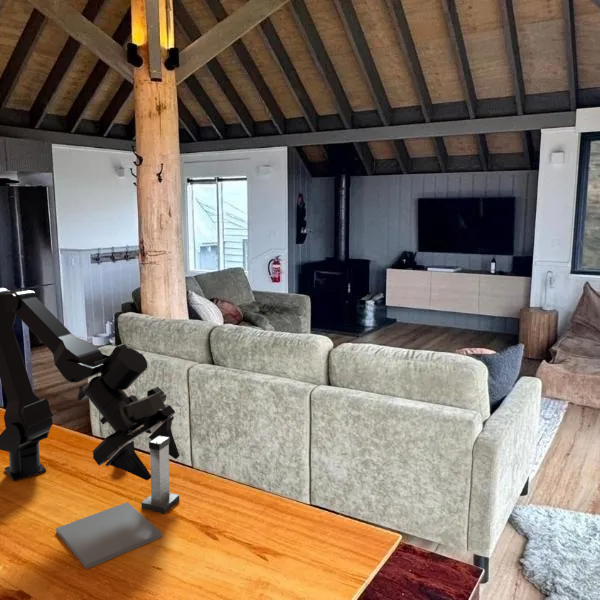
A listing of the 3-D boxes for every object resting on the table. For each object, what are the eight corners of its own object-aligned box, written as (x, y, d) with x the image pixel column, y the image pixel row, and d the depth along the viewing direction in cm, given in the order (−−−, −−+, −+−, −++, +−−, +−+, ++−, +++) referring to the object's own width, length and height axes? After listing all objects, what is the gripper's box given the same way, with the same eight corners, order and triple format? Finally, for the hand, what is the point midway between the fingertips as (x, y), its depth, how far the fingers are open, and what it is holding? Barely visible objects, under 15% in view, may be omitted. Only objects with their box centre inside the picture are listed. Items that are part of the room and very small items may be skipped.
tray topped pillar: (141, 508, 103) (139, 442, 101) (157, 495, 108) (155, 432, 105) (164, 513, 101) (163, 447, 99) (179, 500, 106) (178, 436, 104)
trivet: (56, 532, 95) (56, 528, 95) (127, 506, 104) (127, 502, 103) (86, 569, 86) (86, 564, 85) (161, 536, 94) (161, 532, 94)
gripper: (103, 393, 93) (160, 466, 91) (166, 365, 111) (215, 425, 109) (68, 430, 97) (122, 500, 95) (134, 397, 115) (181, 456, 113)
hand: (164, 467), depth 103 cm, fingers open, 9 cm apart
